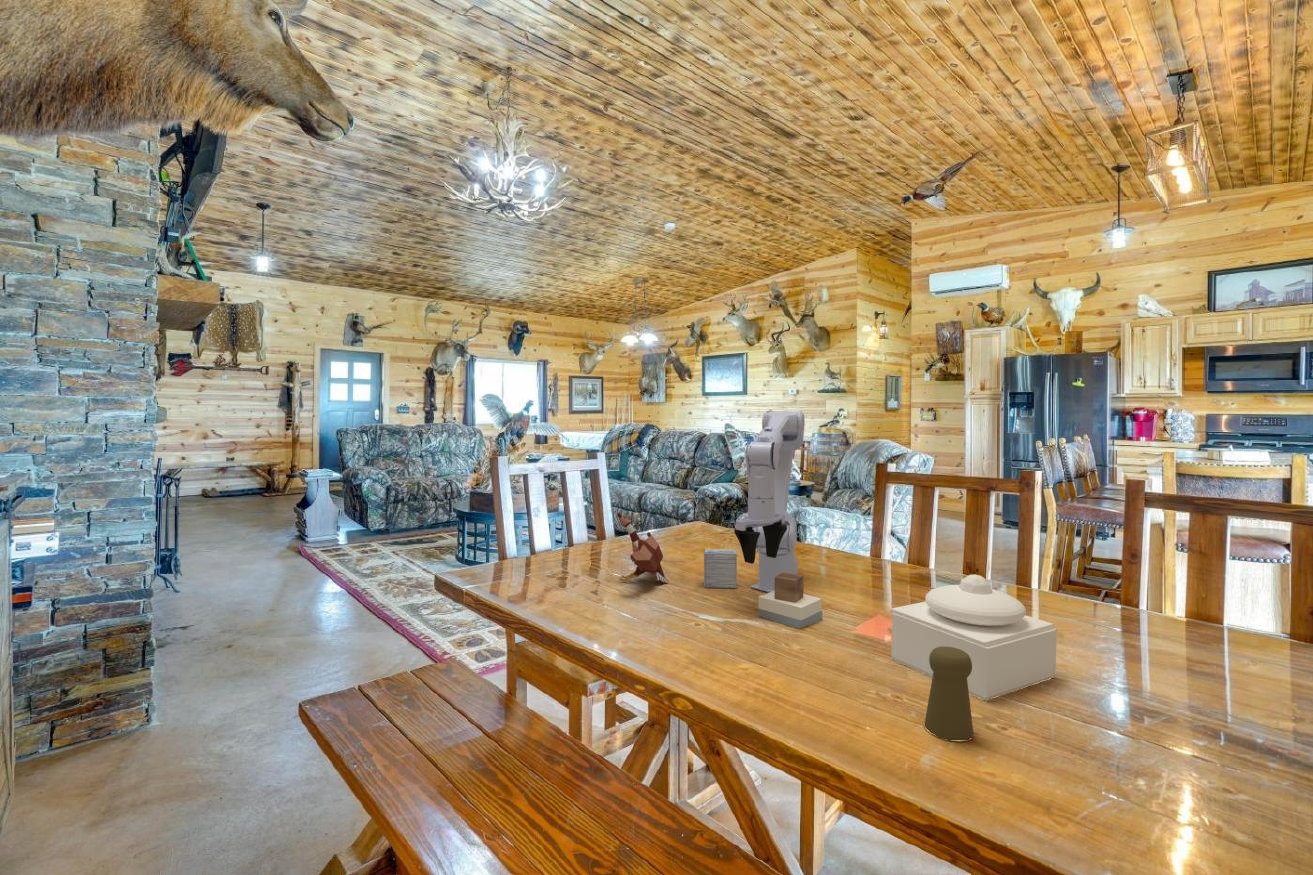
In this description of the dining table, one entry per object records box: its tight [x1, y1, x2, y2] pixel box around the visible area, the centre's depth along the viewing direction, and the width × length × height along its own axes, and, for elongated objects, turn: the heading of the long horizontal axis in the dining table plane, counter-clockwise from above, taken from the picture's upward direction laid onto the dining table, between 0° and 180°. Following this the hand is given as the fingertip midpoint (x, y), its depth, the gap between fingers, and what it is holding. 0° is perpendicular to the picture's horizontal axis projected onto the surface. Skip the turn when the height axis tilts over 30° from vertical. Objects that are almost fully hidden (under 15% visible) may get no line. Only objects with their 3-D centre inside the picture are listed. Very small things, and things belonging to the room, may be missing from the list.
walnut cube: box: [774, 572, 805, 603], centre depth 127 cm, size 4×4×4 cm
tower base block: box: [758, 608, 823, 630], centre depth 128 cm, size 8×10×2 cm
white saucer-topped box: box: [890, 574, 1058, 701], centre depth 103 cm, size 18×18×16 cm
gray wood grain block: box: [703, 548, 738, 589], centre depth 150 cm, size 8×4×9 cm, turn 84°
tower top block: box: [758, 590, 823, 620], centre depth 127 cm, size 8×10×2 cm
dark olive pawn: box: [924, 646, 975, 740], centre depth 83 cm, size 6×6×11 cm
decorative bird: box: [616, 511, 669, 585], centre depth 153 cm, size 28×18×15 cm, turn 172°
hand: (760, 559), depth 134 cm, fingers open, 7 cm apart
